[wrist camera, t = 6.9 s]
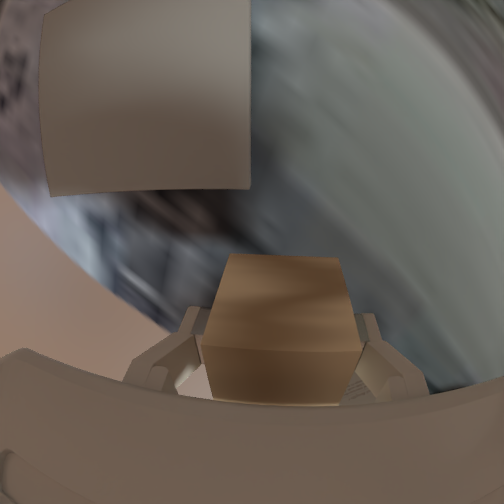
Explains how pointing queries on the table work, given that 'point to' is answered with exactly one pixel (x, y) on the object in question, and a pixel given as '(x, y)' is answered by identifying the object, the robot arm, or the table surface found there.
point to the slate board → (146, 95)
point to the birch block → (281, 332)
